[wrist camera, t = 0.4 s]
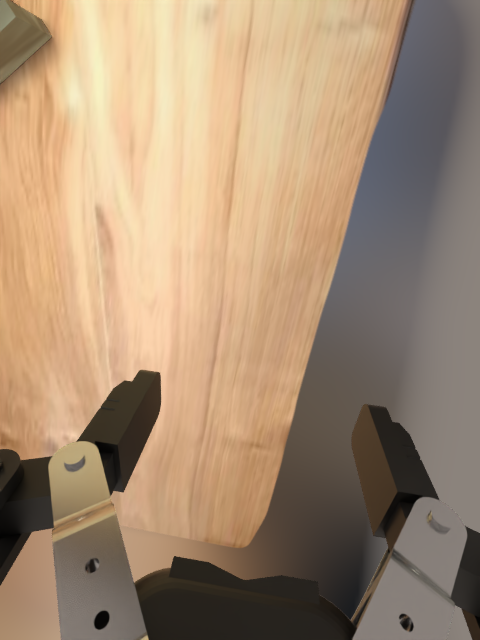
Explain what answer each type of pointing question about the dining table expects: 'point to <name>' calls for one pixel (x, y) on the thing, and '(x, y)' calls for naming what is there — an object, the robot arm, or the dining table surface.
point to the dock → (18, 36)
